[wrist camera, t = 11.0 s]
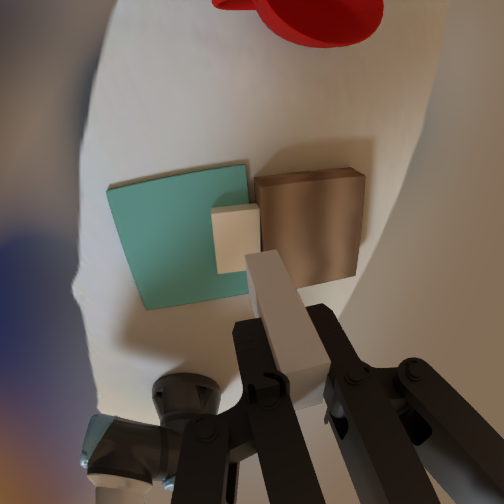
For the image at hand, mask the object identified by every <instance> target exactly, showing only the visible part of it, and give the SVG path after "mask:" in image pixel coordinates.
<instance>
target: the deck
mask: <svg viewBox="0 0 504 504" xmlns="http://www.w3.org/2000/svg"><path fill="white" fill-rule="evenodd" d="M365 177H366V176H365V175H363V174H361V173H360V172H358V171H356V170H355V169H353V168H339V169H327V170H316V171H306V172H296V173H287V174H279V175H271V176H263V177H255V178H254V187H255V198H256V203H257V205H258V207H259V209H260V251H261V252H264V251H270V250H275V249H277V251H278V253H279V255H280V257H281V259H282V262H283V264H284V266H285V268H286V270H287V272H288V274H289V276H290V278H291V280H292V282H293V284H294V286H295V288H296V289H297V288H302V287H307V286H311V285H316V284H321V283H325V282H330V281H334V280H339V279H343V278H348V277H352V276H356V269H357V261H358V254H359V246H360V237H361V228H362V217H363V206H364V193H365Z"/></svg>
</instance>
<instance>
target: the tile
mask: <svg viewBox="0 0 504 504" xmlns="http://www.w3.org/2000/svg"><path fill="white" fill-rule="evenodd" d="M211 218H212V228H213V237H214V246H215V255H216V264H217V271H218V274H223V273H231V272H239V271H246V264H245V256H244V255H247V254H252V253H258V252H261V251H260V209H259V207H258V205H257V203H252V204H242V205H232V206H223V207H214V208H211Z"/></svg>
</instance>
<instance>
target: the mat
mask: <svg viewBox="0 0 504 504" xmlns="http://www.w3.org/2000/svg"><path fill="white" fill-rule="evenodd" d="M106 194H107V198H108V201H109V205H110V208H111V212H112V215H113V219H114V222H115V225H116V228H117V231H118V234H119V238H120V241H121V244H122V247H123V250H124V252H125V255H126V258H127V261H128V264H129V267H130V269H131V272H132V275H133V277H134V280H135V283H136V285H137V288H138V290H139V293H140V296H141V298H142V301H143V303H144V305H145V308H146V310H152V309H158V308H165V307H171V306H178V305H184V304H190V303H196V302H202V301H208V300H214V299H219V298H225V297H231V296H236V295H242V294H247V293H249V289H248V280H247V272H246V271H239V272H231V273H223V274H218V271H217V264H216V255H215V246H214V237H213V228H212V218H211V208H214V207H223V206H232V205H242V204H249V198H248V188H247V178H246V168H245V164H240V165H233V166H226V167H220V168H213V169H207V170H201V171H195V172H190V173H184V174H179V175H173V176H168V177H163V178H158V179H153V180H149V181H144V182H139V183H135V184H131V185H126V186H122V187H118V188H114V189H109V190H107V191H106Z"/></svg>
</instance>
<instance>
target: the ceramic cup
mask: <svg viewBox="0 0 504 504" xmlns="http://www.w3.org/2000/svg"><path fill="white" fill-rule="evenodd" d="M212 4H213V5H214V7H216V8H218V9H223V10H257V12H258V14H259V16H260V18H261V19H262V21H263V22H264V23H265V24H266V26H267V27H268V28H269V29H270V30H272V31H273V32H274V33H275V34H277V35H278V36H280V37H282V38H283V39H285V40H287V41H290V42H292V43H295V44H298V45H302V46H306V47H316V48H331V47H343V46H349V45H352V44H356V43H359V42H361V41H363V40H365V39H367V38H368V37H370V36H371V35H372V34H373V33H374V32H375V31H376V29H377V28H378V26H379V25H380V23H381V20H382V17H383V9H384V4H383V0H212Z"/></svg>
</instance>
